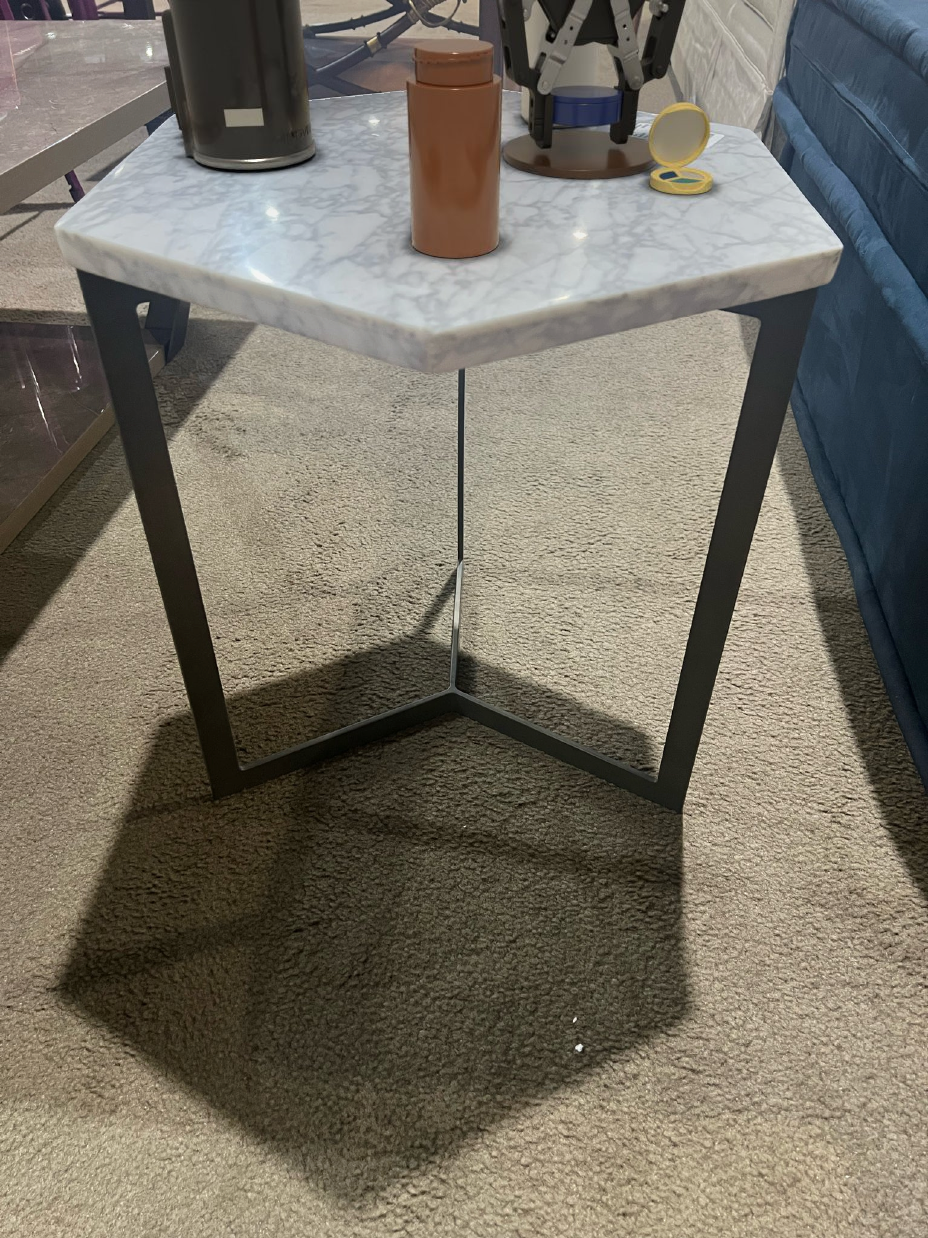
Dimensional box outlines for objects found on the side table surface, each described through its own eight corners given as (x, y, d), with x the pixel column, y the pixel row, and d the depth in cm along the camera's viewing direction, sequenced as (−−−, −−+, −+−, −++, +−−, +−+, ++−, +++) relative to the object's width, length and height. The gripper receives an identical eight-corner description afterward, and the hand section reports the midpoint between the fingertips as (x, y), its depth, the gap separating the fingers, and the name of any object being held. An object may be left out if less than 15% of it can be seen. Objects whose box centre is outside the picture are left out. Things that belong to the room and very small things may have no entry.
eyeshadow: (657, 194, 65) (667, 116, 62) (641, 174, 69) (650, 100, 66) (718, 193, 65) (731, 115, 62) (699, 173, 69) (711, 99, 66)
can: (508, 123, 81) (512, -45, 73) (538, 108, 85) (546, -52, 78) (576, 131, 79) (589, -41, 71) (604, 115, 83) (619, -49, 75)
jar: (395, 247, 57) (385, 47, 50) (441, 223, 60) (438, 33, 54) (470, 264, 55) (471, 57, 48) (514, 237, 58) (520, 42, 51)
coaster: (475, 163, 71) (475, 155, 71) (546, 130, 79) (546, 122, 79) (618, 187, 66) (619, 178, 66) (679, 149, 74) (680, 141, 74)
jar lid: (633, 117, 71) (636, 88, 70) (600, 129, 68) (602, 99, 67) (567, 110, 74) (569, 83, 73) (531, 121, 70) (532, 93, 69)
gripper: (513, -133, 57) (505, 163, 68) (727, -135, 60) (686, 150, 71) (482, -137, 63) (479, 138, 74) (679, -138, 65) (648, 127, 76)
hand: (581, 142), depth 72 cm, fingers closed on jar lid, 5 cm apart
